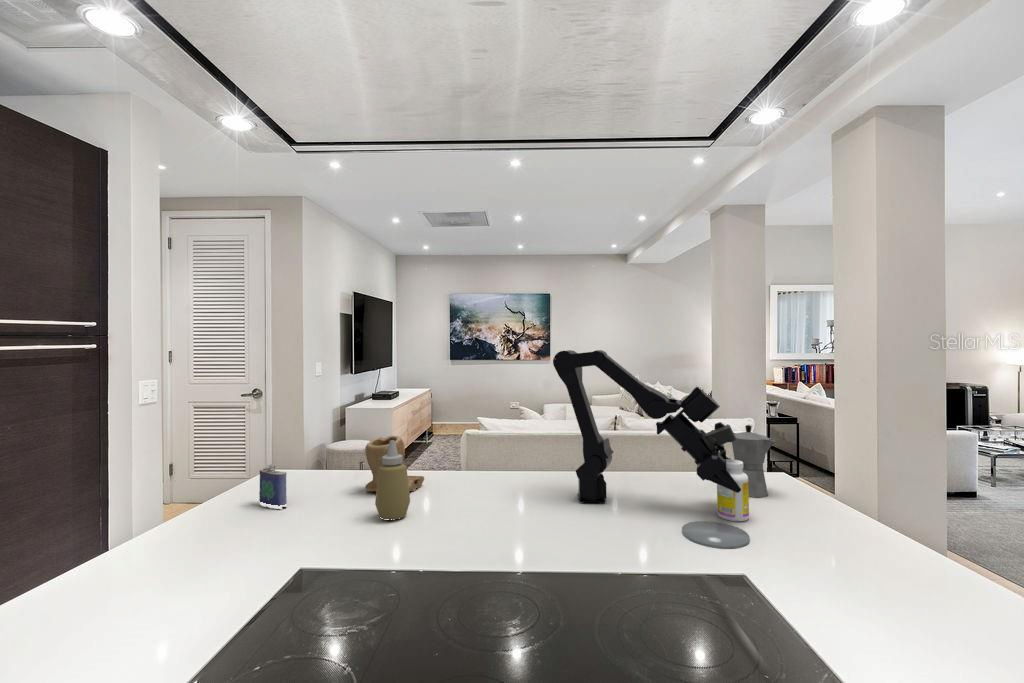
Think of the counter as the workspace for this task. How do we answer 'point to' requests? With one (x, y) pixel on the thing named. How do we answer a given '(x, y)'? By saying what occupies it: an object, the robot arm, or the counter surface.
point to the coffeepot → (752, 459)
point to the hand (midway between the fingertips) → (739, 487)
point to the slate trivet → (715, 534)
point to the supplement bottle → (734, 494)
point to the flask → (272, 486)
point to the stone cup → (374, 459)
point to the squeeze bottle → (392, 486)
